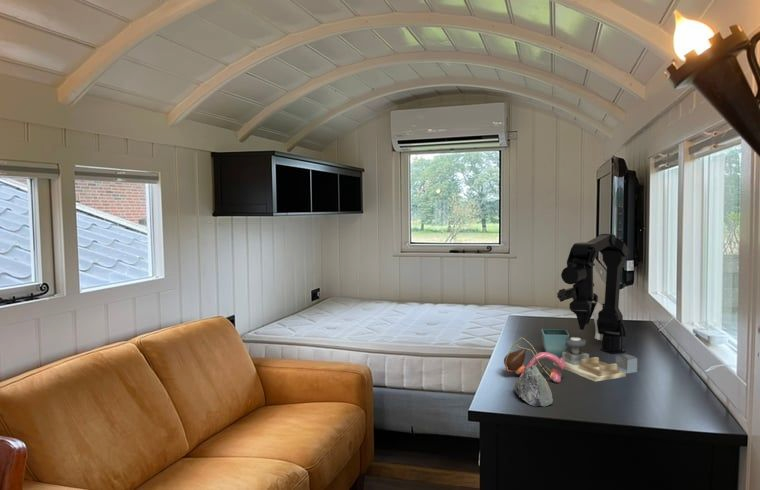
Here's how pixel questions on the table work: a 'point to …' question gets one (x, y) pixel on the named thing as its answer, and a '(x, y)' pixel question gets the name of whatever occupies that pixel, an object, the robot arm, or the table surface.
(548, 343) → the flower pot
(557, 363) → the anatomy model
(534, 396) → the mineral rock
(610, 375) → the chassis board
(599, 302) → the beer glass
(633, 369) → the brushed metal cube
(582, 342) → the grey rounded knob
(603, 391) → the table surface
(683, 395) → the table surface
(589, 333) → the table surface
